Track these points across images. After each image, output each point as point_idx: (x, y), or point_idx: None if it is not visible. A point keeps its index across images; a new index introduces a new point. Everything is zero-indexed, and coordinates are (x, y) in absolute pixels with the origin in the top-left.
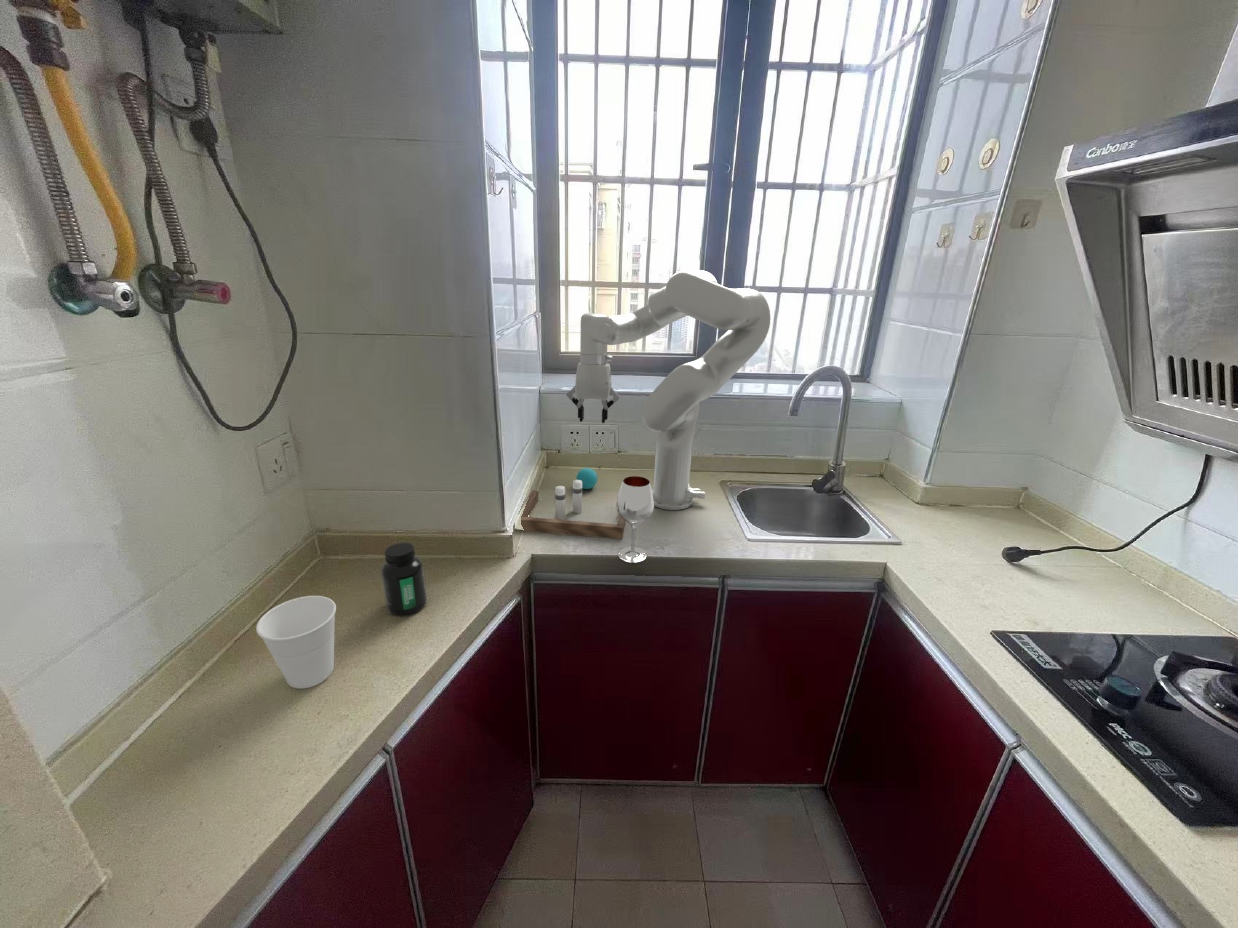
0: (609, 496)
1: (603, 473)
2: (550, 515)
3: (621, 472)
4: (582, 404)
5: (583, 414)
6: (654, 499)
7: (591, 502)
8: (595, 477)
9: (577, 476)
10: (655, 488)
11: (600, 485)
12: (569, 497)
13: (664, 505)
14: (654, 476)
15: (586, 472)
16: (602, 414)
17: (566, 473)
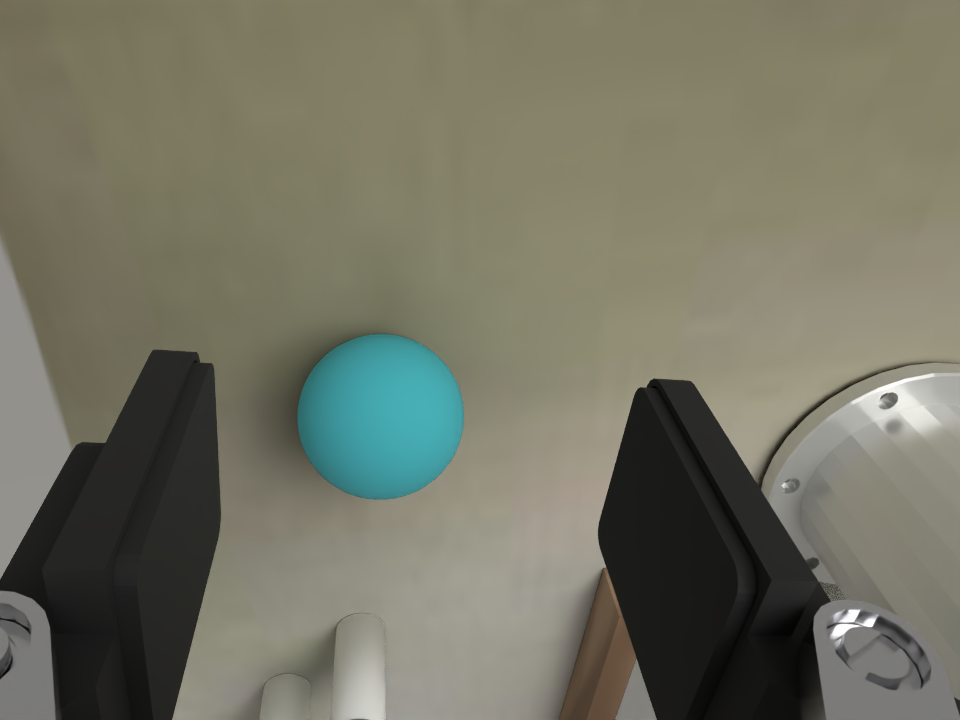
0: (538, 464)
1: (507, 68)
2: (229, 674)
3: (679, 28)
4: (76, 701)
5: (191, 471)
6: (797, 531)
7: (429, 540)
8: (452, 457)
9: (309, 459)
10: (834, 575)
11: (480, 318)
12: (286, 502)
13: (826, 580)
14: (872, 604)
15: (382, 495)
16: (651, 671)
17: (152, 97)
